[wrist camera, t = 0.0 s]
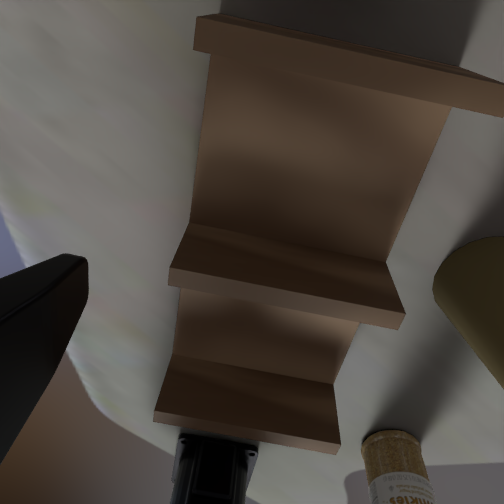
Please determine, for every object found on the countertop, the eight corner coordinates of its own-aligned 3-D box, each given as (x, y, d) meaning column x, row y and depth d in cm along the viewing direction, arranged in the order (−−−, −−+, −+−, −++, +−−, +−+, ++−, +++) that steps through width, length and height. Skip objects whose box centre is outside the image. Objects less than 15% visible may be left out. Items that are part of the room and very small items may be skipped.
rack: (327, 383, 30) (336, 454, 25) (174, 354, 29) (152, 421, 24) (459, 67, 19) (517, 88, 14) (219, 13, 18) (196, 16, 14)
